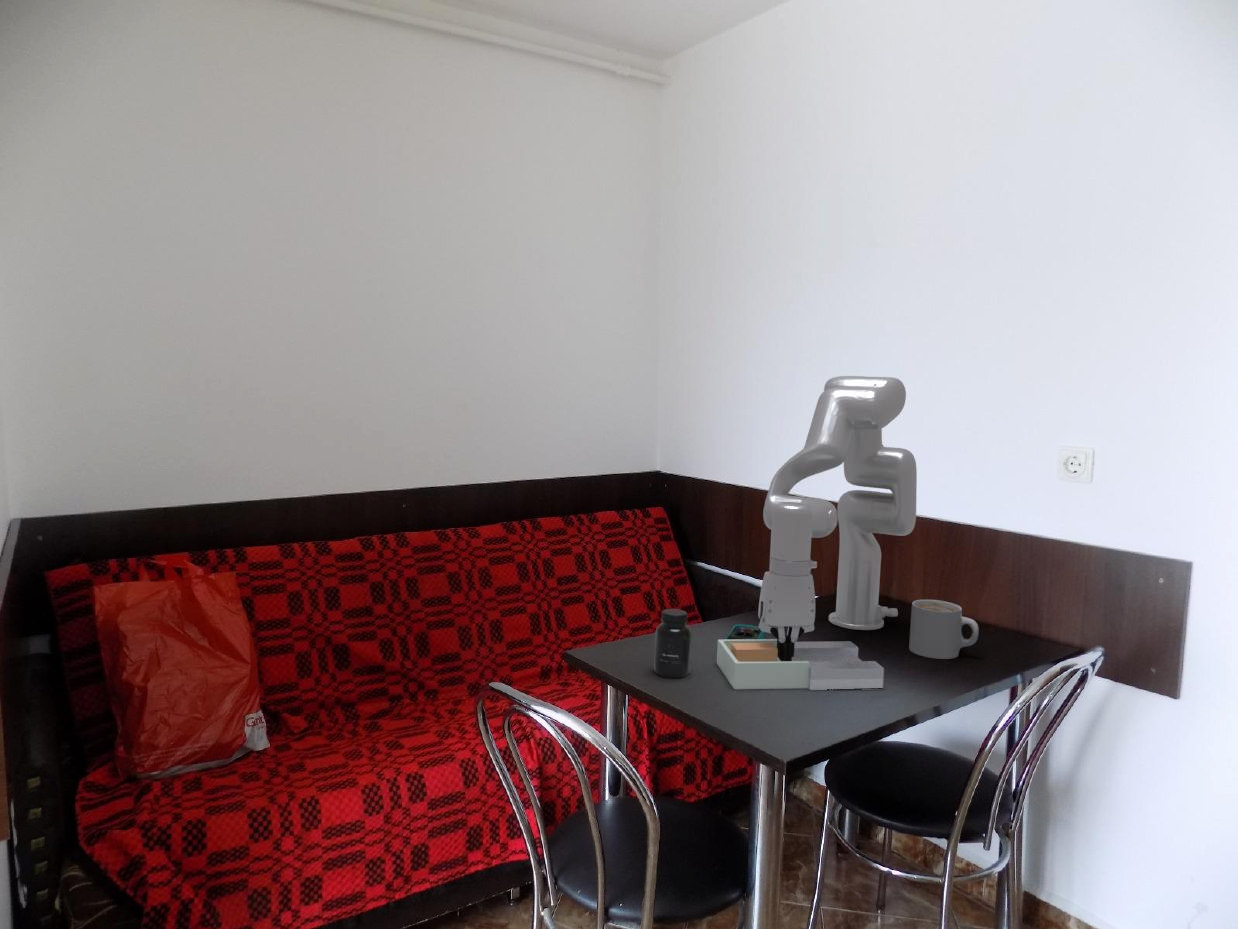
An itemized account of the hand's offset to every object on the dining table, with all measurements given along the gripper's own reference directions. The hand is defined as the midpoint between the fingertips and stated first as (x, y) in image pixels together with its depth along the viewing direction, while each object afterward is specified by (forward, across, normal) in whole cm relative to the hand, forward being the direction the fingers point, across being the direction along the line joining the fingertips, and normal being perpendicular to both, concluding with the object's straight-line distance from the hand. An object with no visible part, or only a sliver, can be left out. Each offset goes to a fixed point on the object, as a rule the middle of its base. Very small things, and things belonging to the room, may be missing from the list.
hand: (784, 660), depth 162 cm
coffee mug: (+3, -38, -12) cm, 40 cm away
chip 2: (+1, +4, 0) cm, 4 cm away
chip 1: (+1, +8, 0) cm, 8 cm away
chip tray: (+3, +5, 0) cm, 5 cm away
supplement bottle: (+3, +22, -2) cm, 22 cm away
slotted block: (+3, -9, 0) cm, 10 cm away
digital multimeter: (+4, +3, -19) cm, 19 cm away
